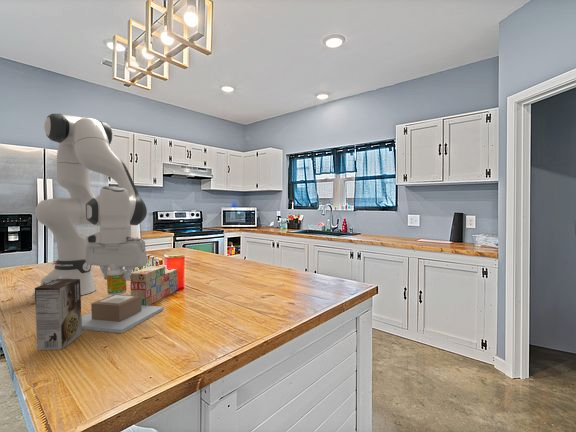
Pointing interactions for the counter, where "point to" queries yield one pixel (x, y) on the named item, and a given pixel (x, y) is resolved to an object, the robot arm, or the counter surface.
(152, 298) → the stack of blocks
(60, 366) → the counter surface
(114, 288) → the supplement bottle
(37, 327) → the coffee box
